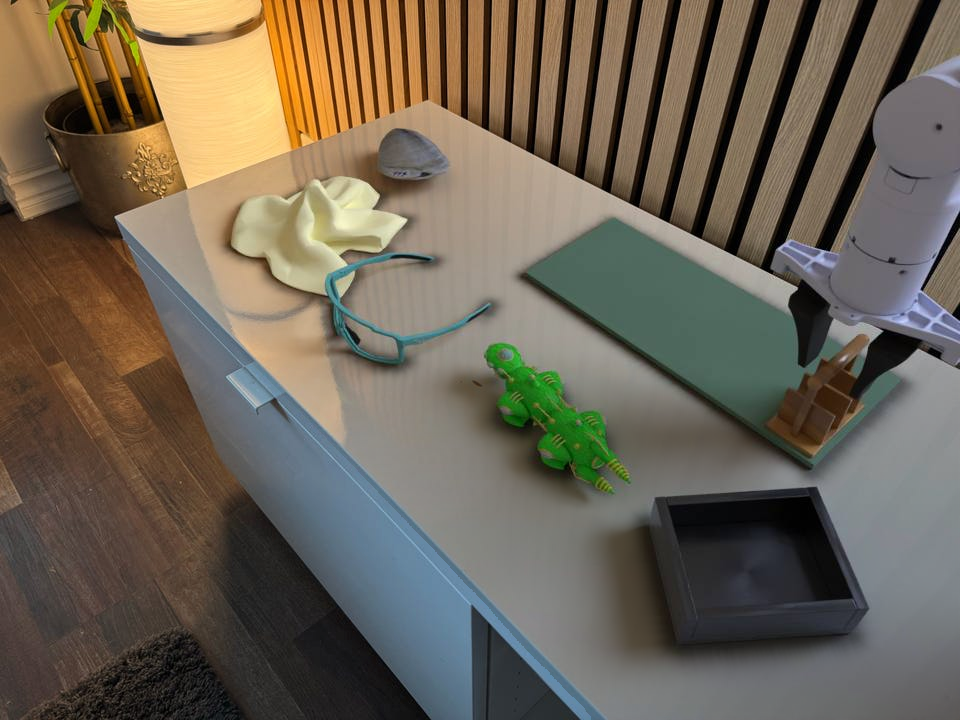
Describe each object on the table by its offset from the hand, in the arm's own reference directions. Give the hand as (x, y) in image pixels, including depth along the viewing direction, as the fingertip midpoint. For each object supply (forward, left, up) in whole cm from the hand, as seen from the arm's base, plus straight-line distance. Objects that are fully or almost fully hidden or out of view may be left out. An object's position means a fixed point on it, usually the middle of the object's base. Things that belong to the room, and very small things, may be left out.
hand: (833, 375), depth 61 cm
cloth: (+55, -6, -6) cm, 55 cm away
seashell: (+51, -21, -6) cm, 56 cm away
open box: (+2, +17, -6) cm, 18 cm away
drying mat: (+12, -8, -6) cm, 16 cm away
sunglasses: (+39, +2, -6) cm, 40 cm away
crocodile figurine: (+20, +10, -6) cm, 23 cm away
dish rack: (0, 0, -5) cm, 5 cm away
